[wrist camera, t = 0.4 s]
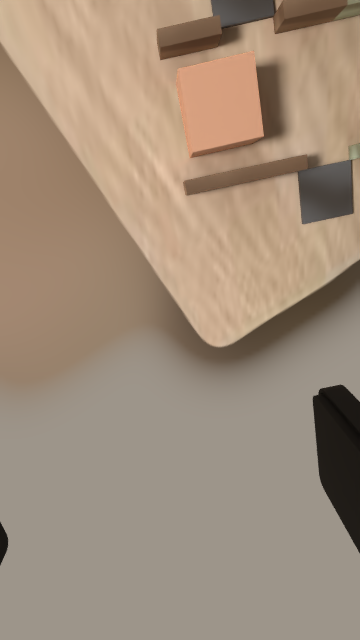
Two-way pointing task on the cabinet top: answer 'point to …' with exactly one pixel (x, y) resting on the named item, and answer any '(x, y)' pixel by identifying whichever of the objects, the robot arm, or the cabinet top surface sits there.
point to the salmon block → (220, 104)
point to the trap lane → (314, 184)
